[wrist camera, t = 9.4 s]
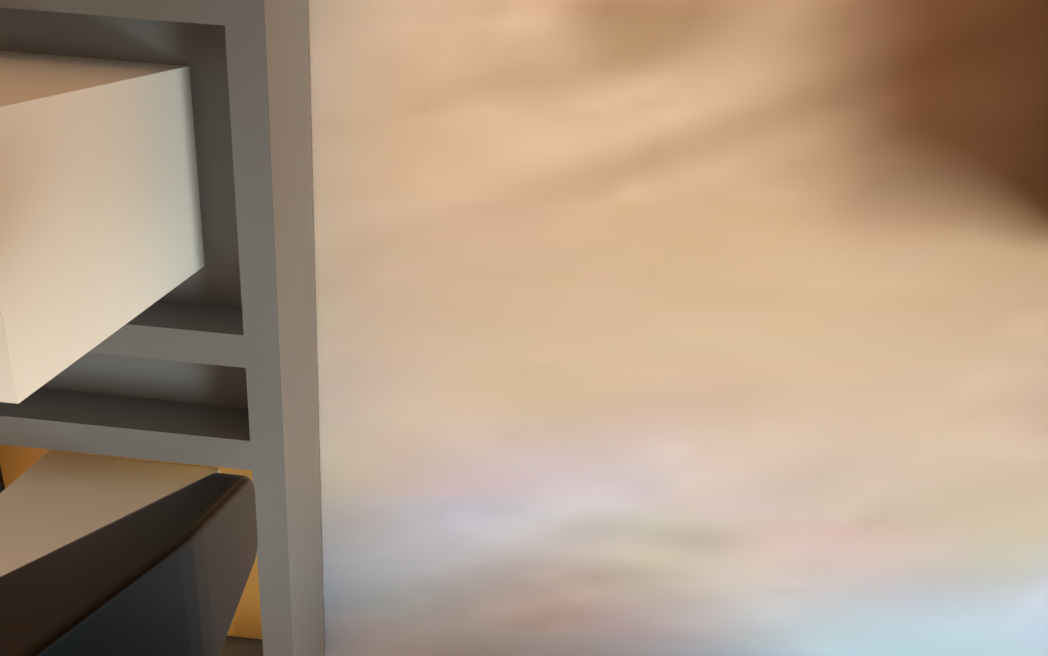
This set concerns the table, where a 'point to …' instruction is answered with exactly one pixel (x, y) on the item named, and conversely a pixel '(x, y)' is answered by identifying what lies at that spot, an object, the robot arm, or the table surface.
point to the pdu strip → (223, 316)
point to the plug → (79, 499)
